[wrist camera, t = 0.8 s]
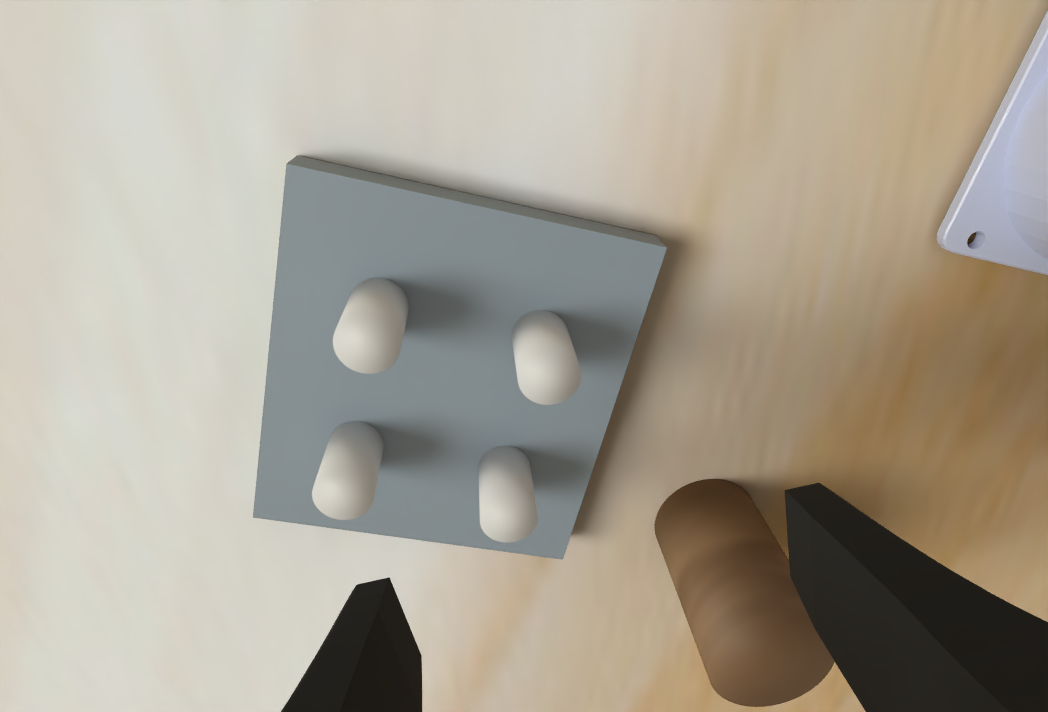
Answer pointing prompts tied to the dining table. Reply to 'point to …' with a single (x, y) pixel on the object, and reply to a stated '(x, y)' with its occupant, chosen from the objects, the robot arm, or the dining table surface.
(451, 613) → the dining table surface
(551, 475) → the peg pad
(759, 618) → the walnut pin
